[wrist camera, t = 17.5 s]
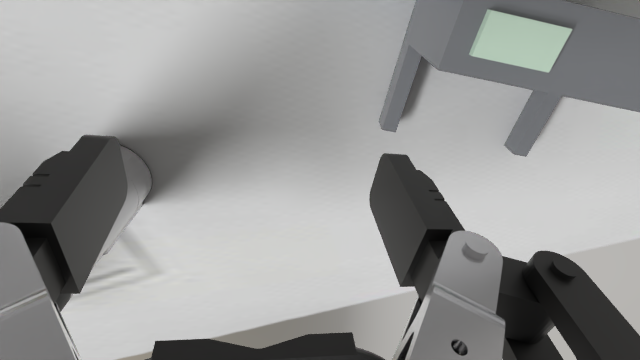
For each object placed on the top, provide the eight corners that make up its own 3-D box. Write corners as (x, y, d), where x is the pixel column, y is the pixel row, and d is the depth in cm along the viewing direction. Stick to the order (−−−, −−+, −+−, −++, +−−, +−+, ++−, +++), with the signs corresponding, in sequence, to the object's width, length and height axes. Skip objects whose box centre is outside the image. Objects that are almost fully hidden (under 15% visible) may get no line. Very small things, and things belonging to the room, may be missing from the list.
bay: (516, 147, 42) (582, 208, 32) (378, 121, 40) (400, 177, 30) (590, 13, 34) (713, 36, 24) (424, -27, 33) (475, -22, 22)
